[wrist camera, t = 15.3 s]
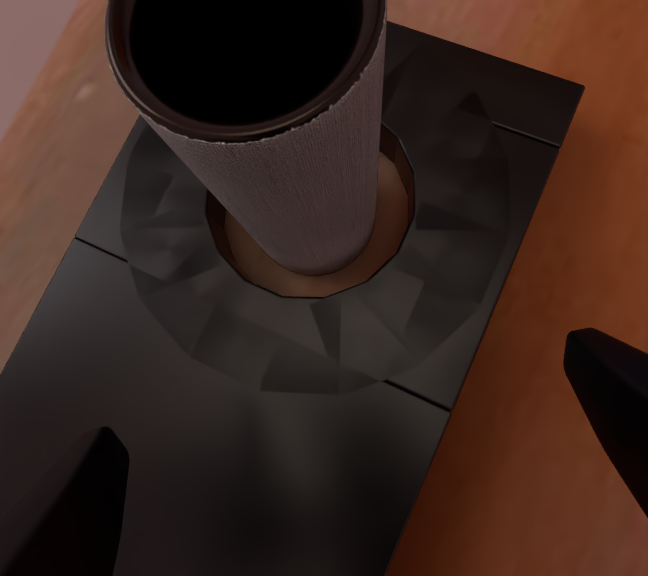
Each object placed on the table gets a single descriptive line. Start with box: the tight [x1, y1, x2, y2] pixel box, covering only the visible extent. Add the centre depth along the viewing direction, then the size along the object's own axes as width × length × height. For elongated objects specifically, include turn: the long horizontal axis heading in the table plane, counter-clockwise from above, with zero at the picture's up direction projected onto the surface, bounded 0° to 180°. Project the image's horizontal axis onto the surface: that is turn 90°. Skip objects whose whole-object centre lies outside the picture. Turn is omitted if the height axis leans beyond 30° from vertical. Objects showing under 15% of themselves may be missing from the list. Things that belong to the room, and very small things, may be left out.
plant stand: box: [0, 21, 585, 576], centre depth 15 cm, size 36×14×2 cm, turn 155°
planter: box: [104, 0, 387, 275], centre depth 12 cm, size 4×4×10 cm
